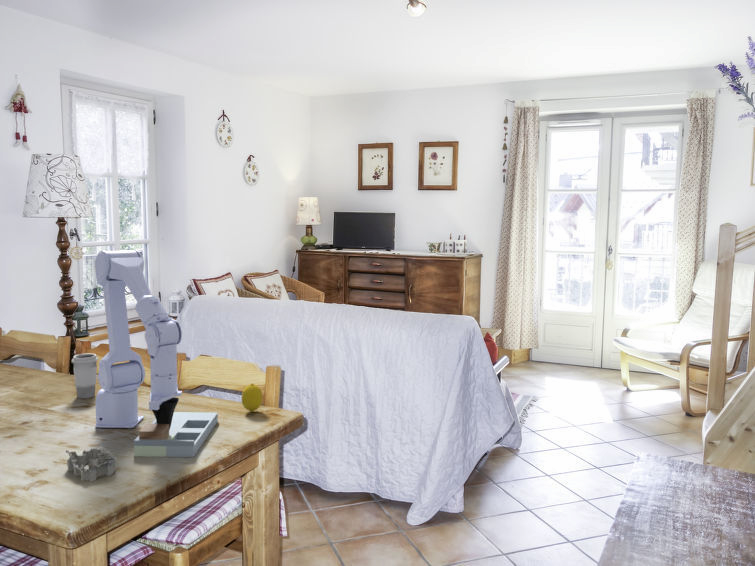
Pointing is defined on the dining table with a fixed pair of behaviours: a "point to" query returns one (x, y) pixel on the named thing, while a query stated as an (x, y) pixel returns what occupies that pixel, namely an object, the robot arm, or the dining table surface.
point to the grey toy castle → (92, 463)
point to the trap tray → (179, 436)
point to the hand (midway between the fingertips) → (164, 430)
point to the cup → (85, 374)
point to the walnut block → (154, 431)
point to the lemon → (252, 397)
